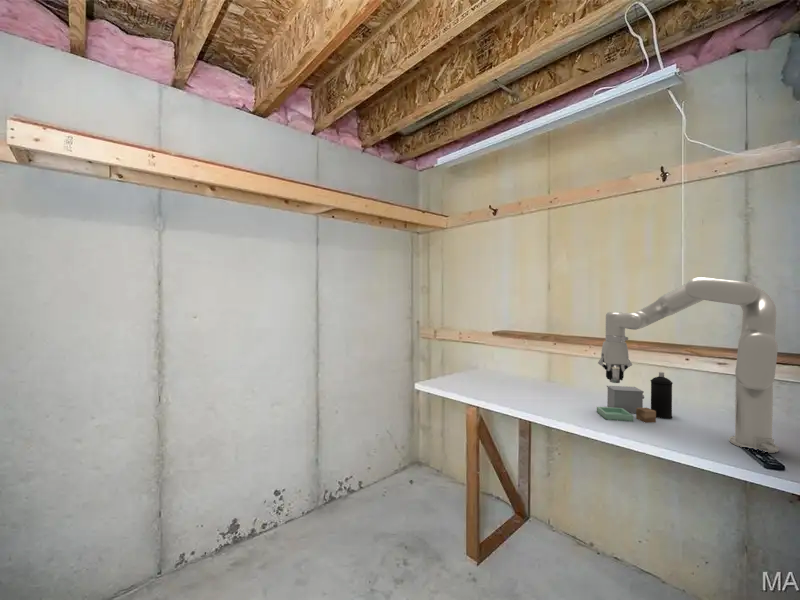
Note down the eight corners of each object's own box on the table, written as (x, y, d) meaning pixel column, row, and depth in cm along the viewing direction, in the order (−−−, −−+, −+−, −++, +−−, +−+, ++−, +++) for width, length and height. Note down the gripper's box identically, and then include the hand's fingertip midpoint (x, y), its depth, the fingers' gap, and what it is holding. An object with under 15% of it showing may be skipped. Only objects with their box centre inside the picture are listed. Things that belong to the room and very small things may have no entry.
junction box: (647, 414, 161) (648, 391, 161) (613, 412, 164) (614, 389, 164) (638, 408, 170) (638, 386, 170) (606, 406, 172) (606, 385, 172)
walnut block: (655, 422, 151) (656, 411, 151) (645, 423, 150) (645, 411, 150) (646, 418, 156) (646, 407, 156) (636, 418, 155) (636, 407, 155)
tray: (633, 421, 152) (633, 415, 152) (606, 419, 154) (606, 414, 154) (622, 413, 163) (622, 408, 163) (596, 411, 164) (596, 406, 164)
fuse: (621, 383, 156) (621, 364, 156) (611, 382, 156) (611, 363, 156) (617, 381, 160) (617, 362, 160) (607, 380, 160) (608, 362, 160)
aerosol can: (676, 419, 154) (677, 374, 154) (655, 418, 156) (656, 373, 156) (666, 413, 162) (666, 371, 162) (646, 412, 164) (647, 370, 164)
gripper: (631, 338, 160) (631, 378, 160) (592, 337, 163) (591, 376, 163) (639, 340, 153) (639, 382, 153) (598, 339, 156) (597, 380, 156)
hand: (614, 379), depth 158 cm, fingers closed on fuse, 4 cm apart
